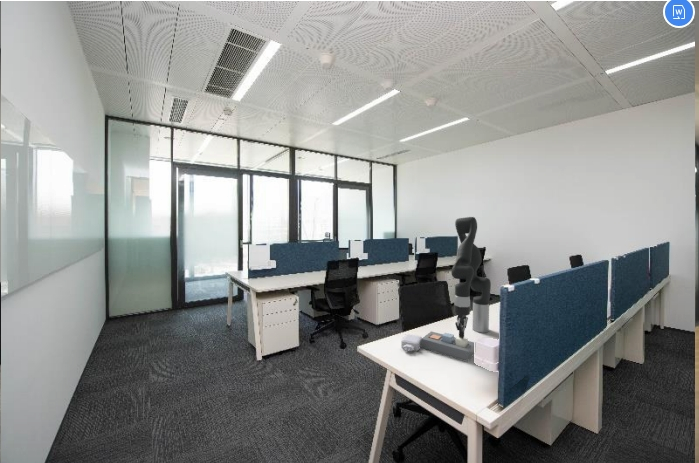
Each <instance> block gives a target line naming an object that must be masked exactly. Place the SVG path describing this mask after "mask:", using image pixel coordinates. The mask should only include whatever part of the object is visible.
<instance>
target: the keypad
mask: <svg viewBox="0 0 699 463" xmlns="http://www.w3.org/2000/svg"><path fill="white" fill-rule="evenodd" d="M443 334H444V333H440V332H435V331H432V330H431V331H430V332H429V333H427V334H425V335H424V336H423V337H422V339H421V346H420V348H421V349H424V350H427V351H431V352H433V353H437V354H441V355H444V356H447V357H451V358H454V359H456V360H457V359H458V360H461V361H464V362H468V361H470V359H471V358H472V357H473V356H474V355H475V353H474V341H470V340H468V346H467V347H466V348H464V347H461V346H457V345H456V338H457V337H455V336H454V342H453V343H452V344H450V343H446V342H442V335H443ZM431 335H437V336H441V339H440V340H435V339H431V338H429V337H430V336H431ZM472 355H473V356H472Z"/></svg>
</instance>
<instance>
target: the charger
mask: <svg viewBox="0 0 699 463" xmlns="http://www.w3.org/2000/svg"><path fill="white" fill-rule="evenodd" d="M422 338H423V337H422V336H420V335H415V334H409V333H407V334H405V335H403V338H402V339H401V342H400V343H401V346H400V347H401V348H402V349H404V350H405V351H408V352H412V351H414V352H418V351H419V350H420V348H421V339H422Z"/></svg>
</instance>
